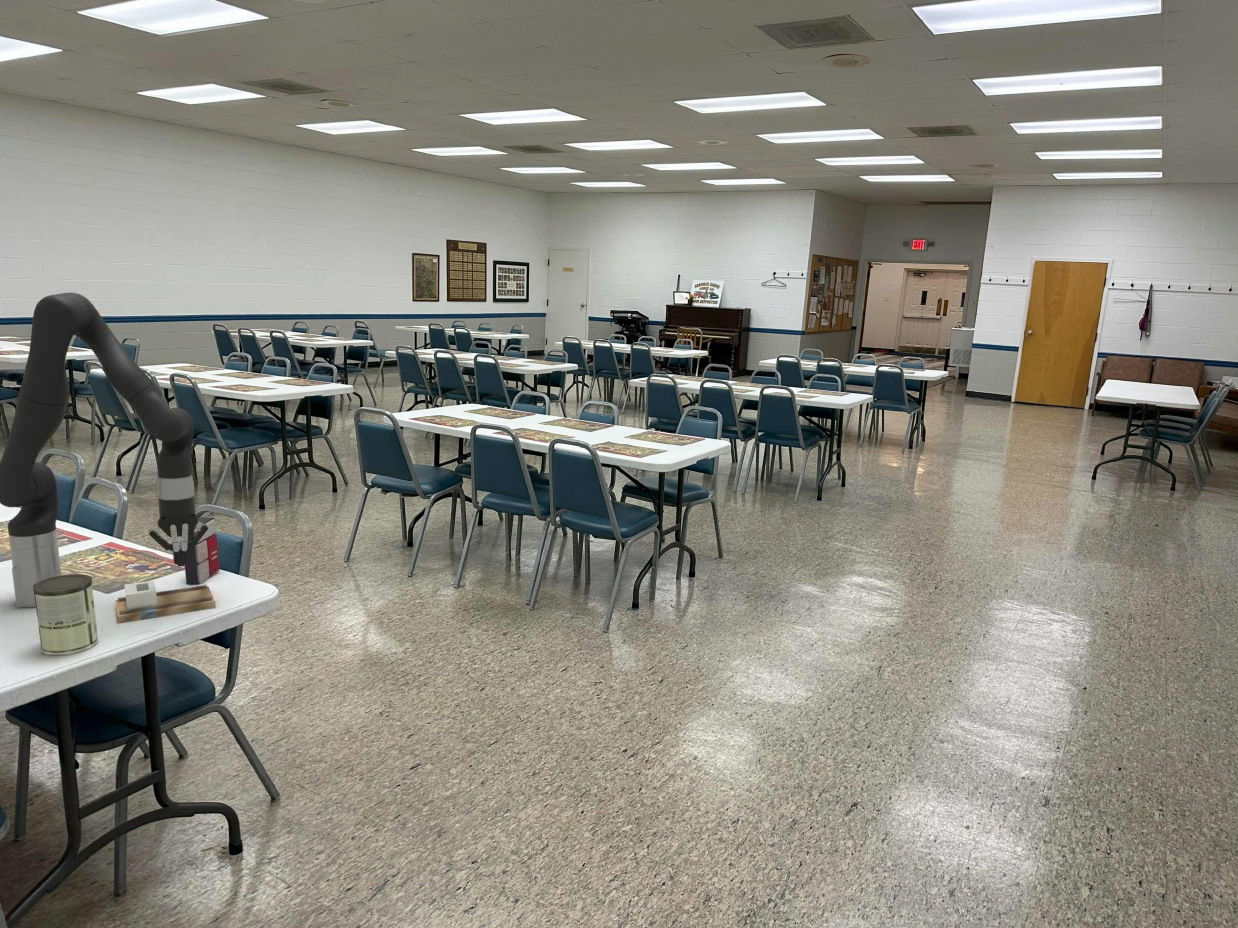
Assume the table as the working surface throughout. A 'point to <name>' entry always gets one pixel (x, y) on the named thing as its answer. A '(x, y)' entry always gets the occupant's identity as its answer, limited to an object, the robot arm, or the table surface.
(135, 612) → the board
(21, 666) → the table surface
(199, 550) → the black red grey box
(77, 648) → the coffee can
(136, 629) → the table surface
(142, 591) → the block
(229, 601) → the table surface
